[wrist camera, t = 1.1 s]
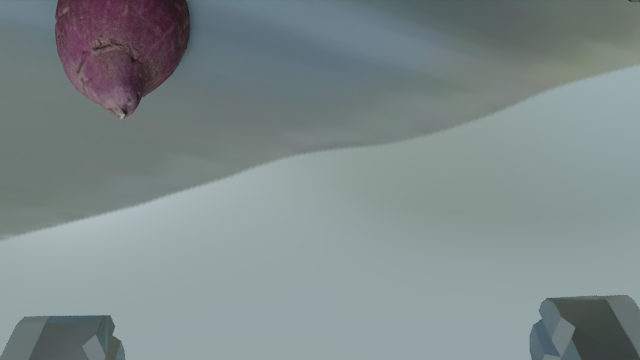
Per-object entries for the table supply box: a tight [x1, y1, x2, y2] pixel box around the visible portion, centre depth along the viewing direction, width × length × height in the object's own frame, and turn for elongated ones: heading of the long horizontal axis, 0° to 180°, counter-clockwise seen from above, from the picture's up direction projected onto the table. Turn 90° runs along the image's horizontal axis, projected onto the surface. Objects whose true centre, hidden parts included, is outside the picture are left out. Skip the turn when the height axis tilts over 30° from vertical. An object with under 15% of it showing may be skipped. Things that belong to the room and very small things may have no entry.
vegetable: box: [55, 0, 190, 120], centre depth 41 cm, size 10×10×15 cm
